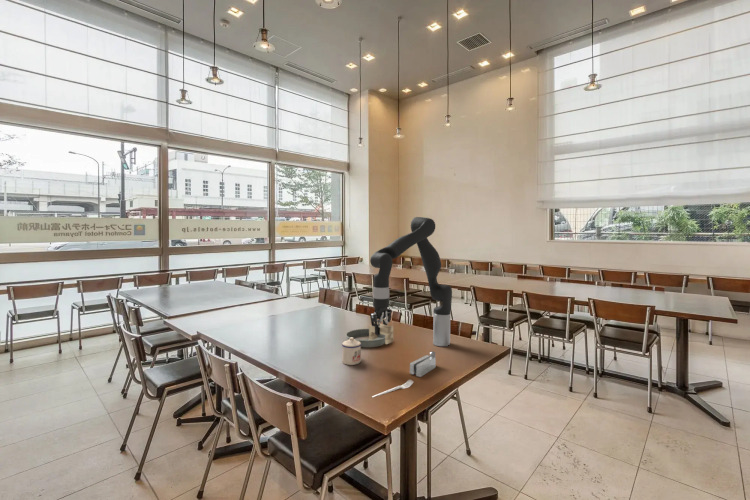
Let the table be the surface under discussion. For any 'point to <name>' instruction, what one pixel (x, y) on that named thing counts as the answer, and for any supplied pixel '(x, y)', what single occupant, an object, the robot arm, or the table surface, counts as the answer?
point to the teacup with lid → (351, 352)
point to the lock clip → (384, 330)
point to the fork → (396, 388)
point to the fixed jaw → (425, 366)
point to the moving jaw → (414, 363)
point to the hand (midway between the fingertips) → (381, 333)
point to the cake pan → (366, 342)
